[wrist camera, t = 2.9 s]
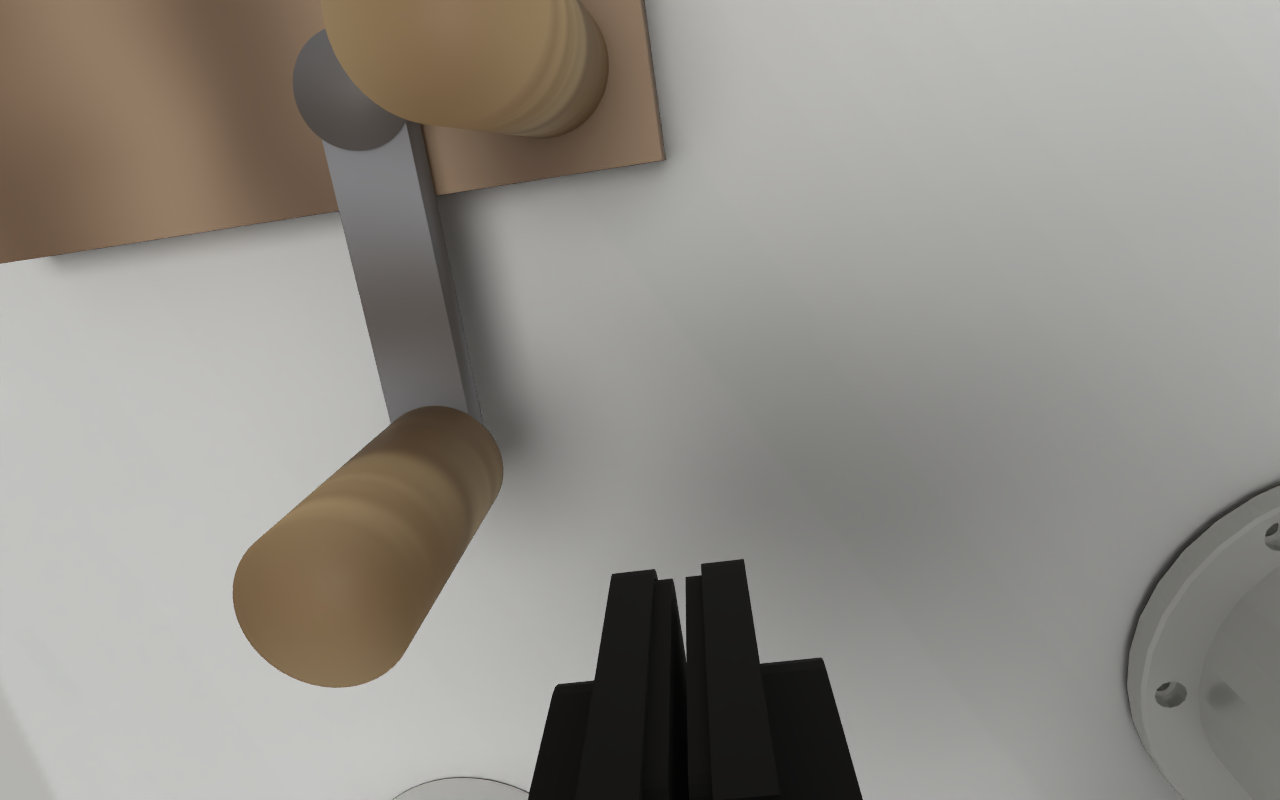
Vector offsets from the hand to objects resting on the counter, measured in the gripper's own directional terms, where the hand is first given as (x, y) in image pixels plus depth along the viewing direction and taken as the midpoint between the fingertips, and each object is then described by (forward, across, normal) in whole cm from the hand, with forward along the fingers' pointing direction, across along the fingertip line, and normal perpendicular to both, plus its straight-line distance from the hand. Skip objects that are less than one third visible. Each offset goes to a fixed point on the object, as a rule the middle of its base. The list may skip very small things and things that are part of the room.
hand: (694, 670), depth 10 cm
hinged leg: (+11, +6, -4) cm, 13 cm away
